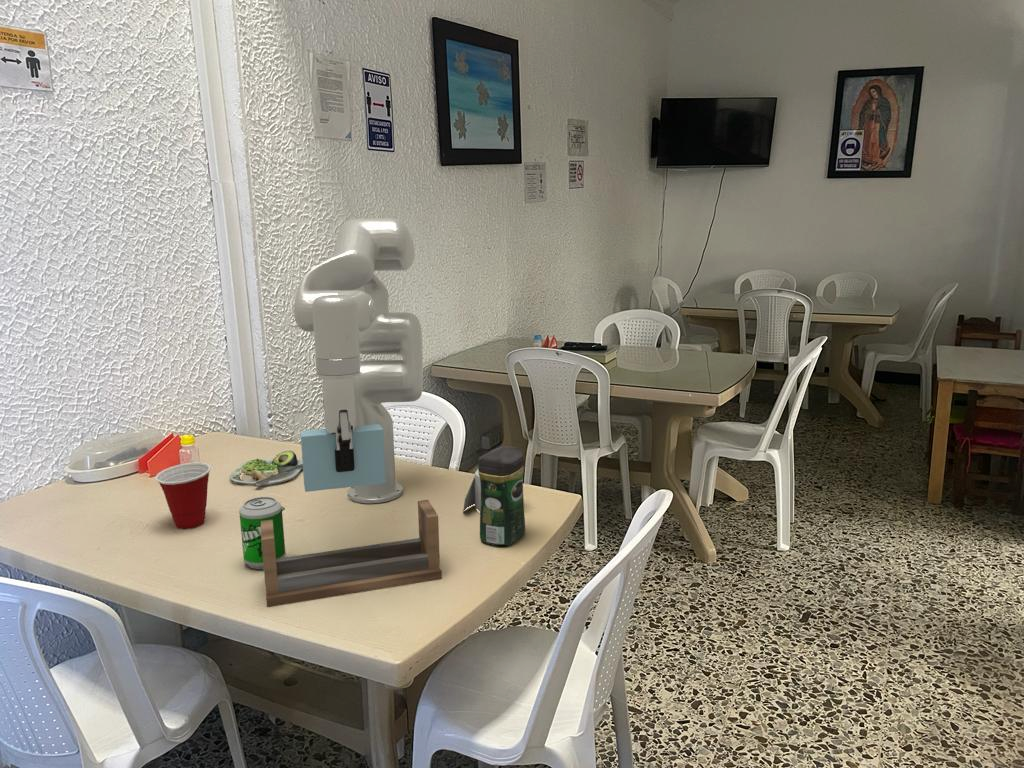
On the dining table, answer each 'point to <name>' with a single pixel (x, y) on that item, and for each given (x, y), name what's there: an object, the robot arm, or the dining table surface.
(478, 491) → the toilet tissue
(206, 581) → the dining table surface
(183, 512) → the plastic cup
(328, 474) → the door panel
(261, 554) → the soda can
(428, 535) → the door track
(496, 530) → the coffee jar
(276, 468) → the salad plate
